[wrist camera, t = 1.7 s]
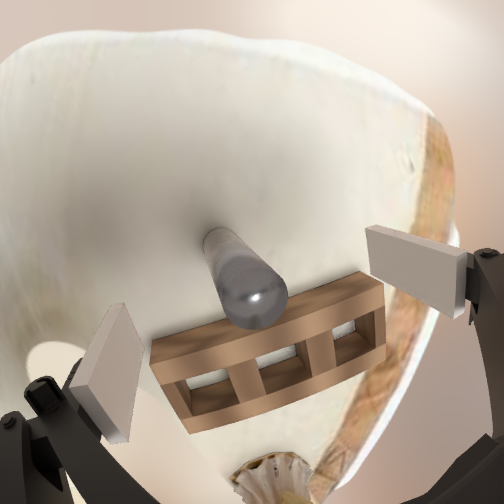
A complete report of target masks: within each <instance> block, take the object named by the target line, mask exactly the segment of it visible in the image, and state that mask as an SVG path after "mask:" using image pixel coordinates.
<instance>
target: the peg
mask: <svg viewBox="0 0 504 504" xmlns="http://www.w3.org/2000/svg"><path fill="white" fill-rule="evenodd" d="M203 250H204V254H205V257H206V260H207V263H208V266H209V269H210V272H211V275H212V278H213V280H214V283H215V286H216V289H217V292H218V295H219V298H220V301H221V304H222V307H223V309H224V312H225V314H226V316H227V318H228V319H229V320H230V321H231V322H232V323H233V324H234V325H236V326H238V327H240V328H243V329H247V330H257V329H262V328H265V327H267V326H269V325H271V324H272V323H274V322H275V321H276V320H277V319H278V318H279V317H280V316H281V315H282V313H283V312H284V310H285V308H286V305H287V301H288V291H287V287H286V284H285V282H284V281H283V279H282V278H281V277H280V276H279V275H278V274H277V273H276V272H275V271H274V270H273V269H272V268H271V267H270V266H269V265H268V264H266V263H265V262H264V261H263V260H262V259H261V258H260V257H259V256H258V255H257V254H256V253H255V252H254V251H253V250H252V249H250V248H249V247H248V246H247V245H246V244H245V243H244V242H243V241H242V240H241V239H240V238H239V237H238V236H237V235H236V234H234V233H233V232H232V231H231V230H229V229H226V228H217V229H214V230H212V231H211V232H209V233H208V234H207V236H206V237H205V239H204V242H203Z"/></svg>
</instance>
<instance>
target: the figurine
mask: <svg viewBox="0 0 504 504" xmlns="http://www.w3.org/2000/svg"><path fill="white" fill-rule="evenodd" d="M273 460H274V461H275V460H276V461H275V462H274V461H273ZM292 461H293V463H292ZM260 464H261V465H260ZM257 465H260V466H259V467H258V468H256V469H251V468H252V467H255V466H257ZM276 465H277V467H276ZM290 465H292V467H290ZM274 466H275V468H277V469H276V471H277V472H278V473H277V474H278V475H279V476H278V475H277V476H275V475H276V474H274V473H275V472H276V471H275V470H274V469H273V468H274ZM288 467H290V468H291V470H290V468H288ZM309 467H310V466H309V464H307V463H306V462H305V461H303V460H302V459H301V458H300V457H299V456H297V455H295V454H294V453H271V454H269V455H266V456H263V457H260V458H258V459H255V460H252V461H249V462H247V463H246V464H245V465H243V466H242V467H241V468H240V469H239V470H238V471H237V472H236V473H234V474H233V475H232V476H231V477H230V478H229V479H230V480H232V481H233V482H235V483H237V484H238V486H237V487H236V489H234V492H236V493H238V494H239V495H241V496H242V497H243V499H242V501H243V502H245V503H246V504H313V503H312V502H311V501H310V500H311V497H310V494H309V489H308V487H307V484H308V482H309V479H310V477H311V475H313V471H312V470H311V469H309ZM253 470H254V471H253ZM289 470H290V471H289ZM274 471H275V472H274ZM255 473H256V474H255ZM257 473H258V474H257ZM277 477H278V478H277Z"/></svg>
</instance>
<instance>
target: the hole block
mask: <svg viewBox="0 0 504 504" xmlns="http://www.w3.org/2000/svg"><path fill="white" fill-rule="evenodd" d="M353 319H355V327H356V331H355V332H353V333H351V334H348V335H346V336H344V337H342V338H339V339H337V340H335V341H333V334H332V329H333V328H335V327H337V326H340V325H342V324H344V323H347V322H349V321H351V320H353ZM292 344H295V347H296V351H297V356H295V357H293V358H290V359H288V360H285V361H282V362H279V363H277V364H274V365H271V366H268V367H265V368H263V369H260V370H258V367H257V363H256V360H255V358H256V357H259V356H262V355H265V354H268V353H270V352H273V351H276V350H279V349H281V348H284V347H287V346H290V345H292ZM385 360H386V324H385V299H384V284H383V283H382V282H380V281H378V280H376V279H374V278H372V277H370V276H368V275H366V274H364V273H362V272H361V271H360V272H357V273H354V274H352V275H349V276H347V277H344V278H341V279H339V280H336V281H334V282H331V283H328V284H326V285H323V286H320V287H317V288H315V289H312V290H309V291H306V292H304V293H301V294H298V295H295V296H292V297H290V298H288V301H287V305H286V308H285V310H284V312H283V313H282V315H281V316H280V317H279V318H278V319H277V320H276V321H275V322H274V323H272V324H271V325H269V326H267V327H265V328H262V329H257V330H247V329H243V328H240V327H238V326H236V325H234V324H233V323H232V322H231V321H230V320H229V319H228V318H227V319H224V320H220V321H217V322H214V323H211V324H208V325H204V326H201V327H198V328H194V329H191V330H188V331H184V332H181V333H177V334H174V335H170V336H167V337H163V338H160V339H156V340H153V341H152V347H151V355H150V363H149V365H150V367H151V369H152V371H153V373H154V375H155V377H156V379H157V381H158V382H159V384H160V386H161V388H162V390H163V391H164V393H165V395H166V397H167V399H168V400H169V402H170V404H171V405H172V407H173V409H174V411H175V412H176V414H177V416H178V417H179V419H180V420H181V422H182V424H183V425H184V427H185V428H186V430H187V432H188V433H189V434H193V433H197V432H201V431H205V430H209V429H213V428H217V427H220V426H224V425H228V424H231V423H234V422H238V421H241V420H244V419H247V418H251V417H254V416H257V415H260V414H263V413H266V412H269V411H271V410H274V409H277V408H280V407H283V406H285V405H288V404H291V403H293V402H296V401H298V400H301V399H303V398H306V397H308V396H311V395H313V394H315V393H318V392H320V391H323V390H325V389H327V388H329V387H332V386H334V385H336V384H338V383H340V382H343V381H345V380H347V379H349V378H351V377H353V376H355V375H357V374H359V373H361V372H363V371H365V370H367V369H369V368H371V367H373V366H375V365H377V364H379V363H381V362H383V361H385ZM225 367H226V370H227V372H228V375H229V377H230V379H229V380H226V381H222V382H219V383H216V384H212V385H209V386H205V387H202V388H198V389H195V390H191V391H190V389H189V387H188V385H187V383H186V381H185V379H187V378H191V377H194V376H198V375H202V374H205V373H208V372H212V371H215V370H219V369H222V368H225Z"/></svg>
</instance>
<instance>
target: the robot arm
mask: <svg viewBox="0 0 504 504" xmlns="http://www.w3.org/2000/svg"><path fill="white" fill-rule="evenodd" d="M365 231H366V238H367V246H368V254H369V262H370V272H371V275H373V276H375V277H377V278H379V279H381V280H383V281H384V282H386V283H388V284H390V285H392V286H394V287H396V288H398V289H399V290H401V291H403V292H405V293H407V294H409V295H410V296H412V297H414V298H416V299H418V300H420V301H421V302H423V303H425V304H427V305H429V306H431V307H432V308H434V309H436V310H438V311H440V312H441V313H443V314H445V315H447V316H448V317H450V318H452V319H455V318H456V317H458V316H459V315H460V314H462V313H463V312H464V308H465V299H467V300H469V301H471V308H470V317H469V325H471V322H472V321H473V320H474V325H475V328H476V331H477V335H478V339H479V343H480V348H481V352H482V357H483V361H484V366H485V371H486V377H487V382H488V388H489V396H490V403H491V411H492V421H493V435H492V438H491V437H490V436H488V435H487V434H484V435H483V436H482V437H481V438H480V439H479V440H478V441H477V442H476V443H475V444H473V446H471V447H470V448H469V449H468V450H467V451H465V452H464V453H463V454H462V455H461V456H460V457H458V458H457V459H456V460H455V461H454V463H453V464H452V465H451V467H449V469H448V470H447V471H446V472H445V473H444V475H443V476H442V477H441V478H440V479H439V480H438V482H436V484H435V485H434V486H433V487H432V488H431V489H430V490H429V491H428V492H427V493H425V494H424V495H422V496H420V497H417V498H414V499H412V500H409V501H406V502H403V503H401V504H504V254H500V253H499V252H498V251H497V250H494V249H490V248H484V249H479V250H477V251H475V252H474V254H470V253H467V251H466V250H463V249H460V248H457V247H453V246H450V245H447V244H443V243H440V242H437V241H433V240H430V239H426V238H423V237H419V236H416V235H412V234H409V233H405V232H401V231H398V230H394V229H390V228H386V227H382V226H379V225H374V226H371V227H368V228H365ZM143 353H144V347H143V345H142V342H141V340H140V338H139V336H138V334H137V332H136V329H135V327H134V325H133V323H132V320H131V318H130V316H129V314H128V311H127V309H126V306H125V304H124V302H123V303H120V304H116V305H113V306H110V308H109V310H108V312H107V313H106V315H105V317H104V319H103V321H102V322H101V324H100V326H99V328H98V330H97V332H96V334H95V335H94V337H93V339H92V341H91V343H90V345H89V347H88V349H87V351H86V353H85V355H84V357H83V358H80V359H79V361H78V362H77V363H76V364H75V365H74V366H73V368H72V370H71V372H70V374H69V376H68V378H67V380H66V382H65V384H64V386H63V388H62V390H61V389H60V388H59V386H58V385H57V383H56V381H55V380H54V378H52V377H51V376H44V377H40V378H38V379H36V380H34V381H33V382H32V383H30V384H29V385H28V387H27V388H26V389H25V391H24V397H25V399H26V400H27V402H28V403H29V404H30V406H31V407H32V409H33V410H34V411H35V413H36V414H37V415H38V417H36V418H33V419H30V420H27V421H26V419H25V418H24V417H23V415H22V414H21V413H20V412H18V411H13V412H10V413H8V414H5V415H4V417H2V418H1V420H0V504H74V501H73V498H72V494H71V491H70V487H69V484H68V480H67V476H66V472H67V474H68V475H69V477H70V479H71V480H72V482H73V484H74V485H75V487H76V488H77V490H78V491H79V493H80V494H81V496H82V497H83V499H84V500H85V502H86V503H87V504H160V503H159V502H158V501H157V500H156V499H155V498H154V497H153V496H151V495H150V494H149V493H148V492H147V491H146V490H145V489H144V488H143V487H142V486H141V485H140V484H139V483H137V481H135V480H134V479H133V478H132V477H131V476H130V475H129V473H128V472H126V470H124V468H122V466H121V465H120V464H119V463H118V462H117V461H116V460H115V459H114V458H113V456H112V455H111V454H110V453H109V452H108V451H107V450H106V449H105V447H104V446H103V445H102V444H101V443H100V440H101V435H103V436H104V437H105V438H106V440H107V441H108V442H109V443H110V444H118V443H127V442H129V435H130V427H131V421H132V413H133V408H134V401H135V395H136V390H137V384H138V378H139V373H140V368H141V363H142V358H143ZM65 470H66V472H65Z"/></svg>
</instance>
